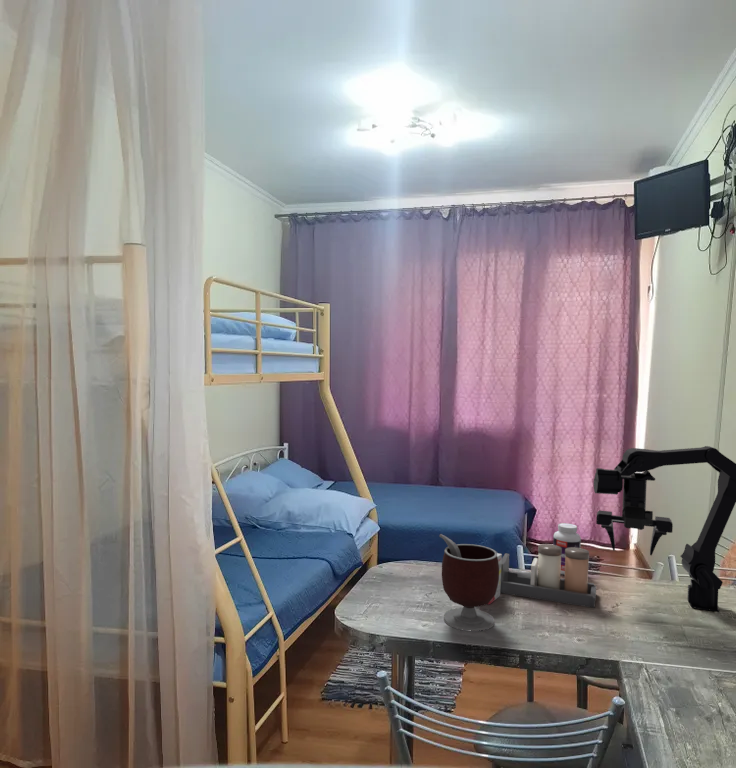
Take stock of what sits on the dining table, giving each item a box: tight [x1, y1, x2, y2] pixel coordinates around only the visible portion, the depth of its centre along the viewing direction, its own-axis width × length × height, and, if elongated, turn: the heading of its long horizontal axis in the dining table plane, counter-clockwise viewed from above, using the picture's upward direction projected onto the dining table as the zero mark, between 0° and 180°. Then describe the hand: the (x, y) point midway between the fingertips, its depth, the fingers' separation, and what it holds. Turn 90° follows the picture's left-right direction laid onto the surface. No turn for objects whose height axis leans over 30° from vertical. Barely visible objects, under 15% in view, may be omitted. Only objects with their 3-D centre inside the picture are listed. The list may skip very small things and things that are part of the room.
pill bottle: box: [552, 522, 582, 576], centre depth 188 cm, size 8×8×14 cm
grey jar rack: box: [500, 553, 597, 609], centre depth 170 cm, size 25×10×8 cm, turn 68°
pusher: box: [516, 557, 538, 586], centre depth 172 cm, size 5×7×8 cm
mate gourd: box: [439, 533, 499, 632], centre depth 151 cm, size 16×14×20 cm
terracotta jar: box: [564, 547, 590, 594], centre depth 167 cm, size 6×6×13 cm
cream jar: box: [537, 543, 562, 590], centre depth 170 cm, size 6×6×13 cm
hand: (632, 552), depth 166 cm, fingers open, 9 cm apart
